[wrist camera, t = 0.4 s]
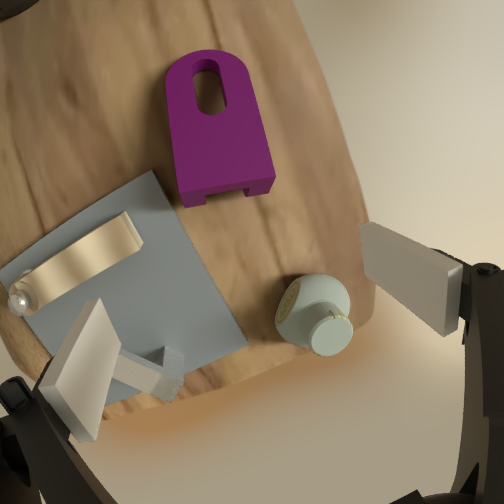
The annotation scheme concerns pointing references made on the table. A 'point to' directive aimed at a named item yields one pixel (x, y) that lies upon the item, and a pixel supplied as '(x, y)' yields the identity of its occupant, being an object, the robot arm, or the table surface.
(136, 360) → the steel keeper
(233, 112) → the mounting bracket
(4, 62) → the table surface
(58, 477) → the robot arm
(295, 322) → the air freshener
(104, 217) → the slate board
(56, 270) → the brass bar
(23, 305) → the cylinder
